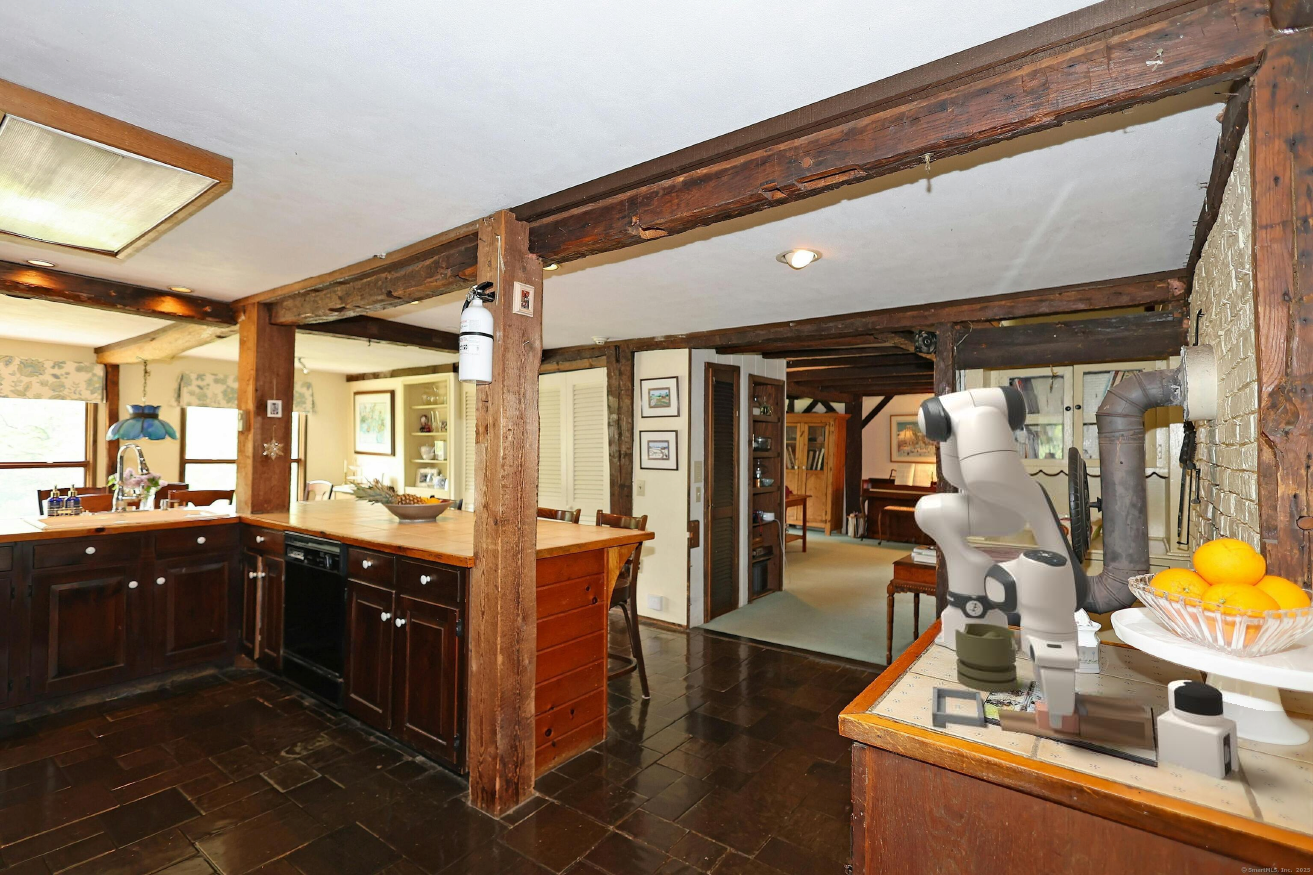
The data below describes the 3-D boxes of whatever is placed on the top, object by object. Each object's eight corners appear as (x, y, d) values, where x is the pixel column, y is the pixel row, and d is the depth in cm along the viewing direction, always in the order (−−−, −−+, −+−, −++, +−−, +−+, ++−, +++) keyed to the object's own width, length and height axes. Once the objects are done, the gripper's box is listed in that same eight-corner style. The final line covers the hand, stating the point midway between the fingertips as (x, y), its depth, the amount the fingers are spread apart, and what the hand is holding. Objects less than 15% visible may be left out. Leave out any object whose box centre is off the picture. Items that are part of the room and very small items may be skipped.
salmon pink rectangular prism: (1035, 718, 116) (1034, 701, 116) (1100, 726, 112) (1100, 708, 112) (1038, 727, 112) (1037, 709, 112) (1106, 736, 108) (1105, 717, 108)
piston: (946, 631, 134) (966, 620, 142) (949, 687, 134) (969, 673, 142) (1004, 641, 126) (1022, 629, 134) (1007, 701, 126) (1024, 685, 134)
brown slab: (997, 713, 121) (996, 681, 121) (1137, 730, 112) (1136, 696, 112) (1002, 735, 112) (1000, 701, 112) (1155, 756, 103) (1153, 719, 103)
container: (1239, 770, 98) (1235, 686, 98) (1221, 786, 94) (1216, 698, 94) (1178, 751, 104) (1174, 672, 104) (1158, 765, 100) (1154, 682, 100)
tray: (933, 698, 129) (933, 686, 129) (980, 703, 125) (980, 691, 126) (932, 725, 117) (932, 712, 117) (984, 732, 113) (984, 719, 113)
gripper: (1022, 625, 124) (1025, 696, 124) (1036, 658, 105) (1040, 741, 105) (1059, 628, 121) (1063, 700, 121) (1081, 662, 103) (1085, 748, 102)
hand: (1052, 720), depth 113 cm, fingers closed on salmon pink rectangular prism, 4 cm apart
